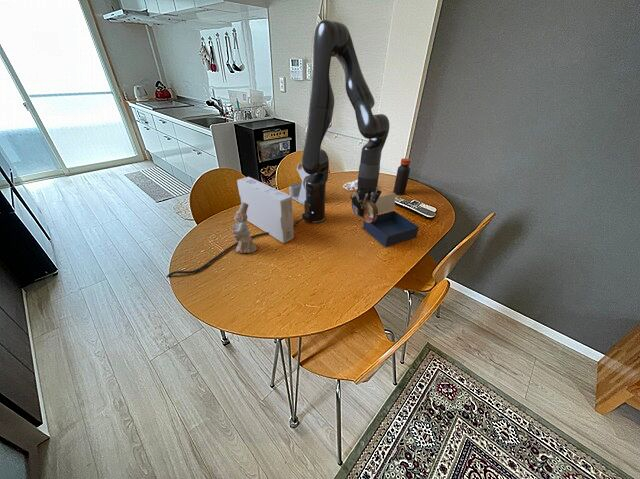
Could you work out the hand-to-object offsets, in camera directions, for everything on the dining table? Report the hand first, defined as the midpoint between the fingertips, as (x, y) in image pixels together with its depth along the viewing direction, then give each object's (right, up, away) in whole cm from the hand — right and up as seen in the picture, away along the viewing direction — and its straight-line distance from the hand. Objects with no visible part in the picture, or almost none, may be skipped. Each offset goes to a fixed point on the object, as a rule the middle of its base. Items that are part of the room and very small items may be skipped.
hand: (363, 214), depth 105 cm
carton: (+14, -7, +14) cm, 21 cm away
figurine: (-48, -14, +2) cm, 50 cm away
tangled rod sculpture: (+7, +22, +55) cm, 60 cm away
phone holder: (-27, +13, +41) cm, 51 cm away
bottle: (+30, +18, +50) cm, 61 cm away
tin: (0, -1, +1) cm, 2 cm away
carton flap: (+10, +6, +14) cm, 19 cm away
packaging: (-42, -5, +15) cm, 45 cm away
